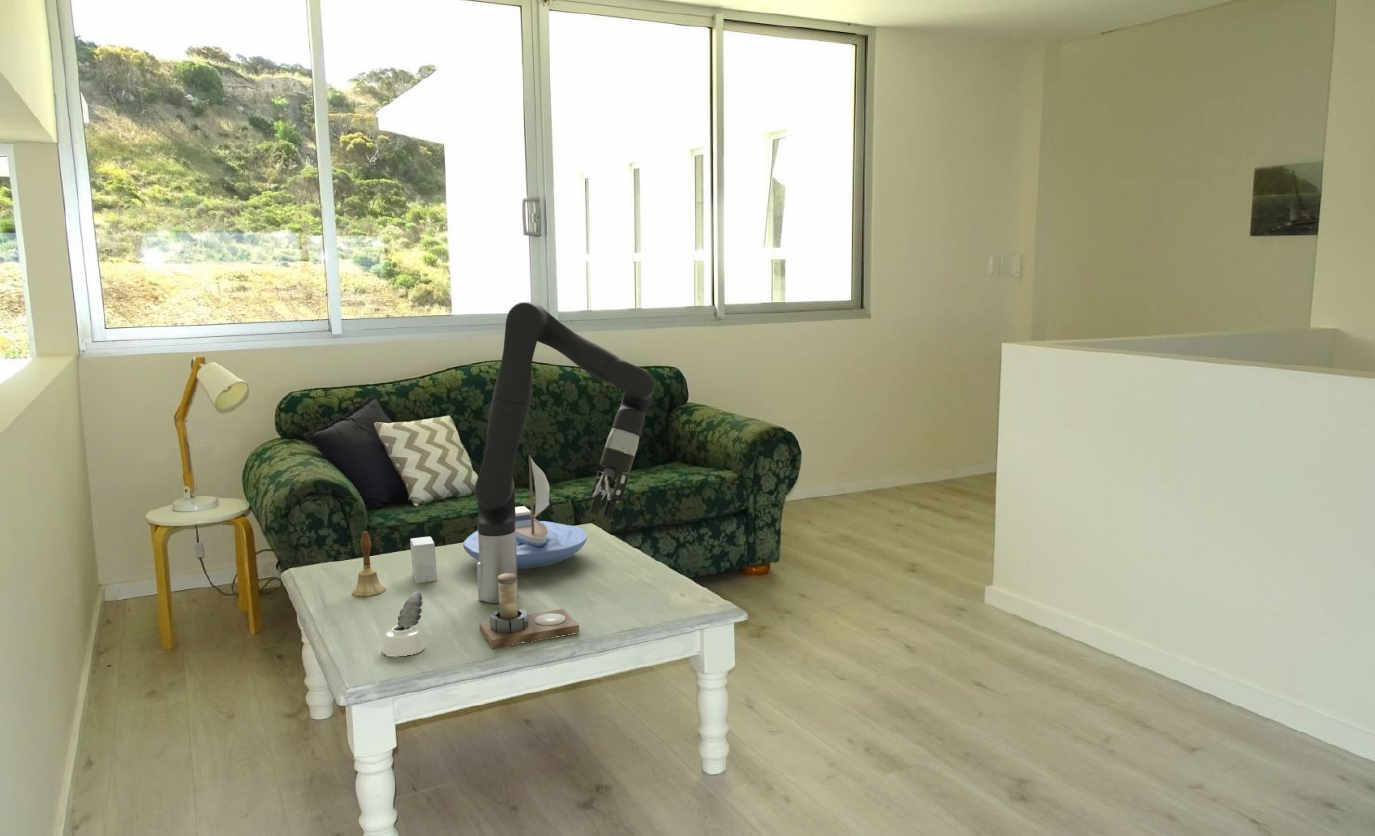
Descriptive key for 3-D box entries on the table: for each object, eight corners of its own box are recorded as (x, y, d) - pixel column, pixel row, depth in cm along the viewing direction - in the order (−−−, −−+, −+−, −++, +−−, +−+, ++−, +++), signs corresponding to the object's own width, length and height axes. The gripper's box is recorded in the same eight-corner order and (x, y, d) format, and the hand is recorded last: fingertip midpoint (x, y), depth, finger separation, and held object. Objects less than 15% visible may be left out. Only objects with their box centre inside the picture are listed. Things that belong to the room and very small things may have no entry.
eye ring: (486, 632, 219) (485, 619, 219) (498, 620, 227) (498, 607, 226) (520, 634, 218) (520, 621, 217) (532, 621, 226) (531, 609, 225)
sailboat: (480, 589, 255) (474, 467, 250) (452, 555, 287) (446, 446, 282) (605, 570, 270) (601, 455, 265) (565, 539, 301) (562, 435, 296)
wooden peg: (497, 629, 221) (495, 578, 219) (503, 623, 225) (501, 572, 223) (515, 630, 220) (512, 579, 218) (521, 624, 224) (518, 573, 222)
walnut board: (492, 648, 215) (491, 640, 215) (479, 630, 226) (479, 622, 226) (579, 633, 223) (579, 624, 223) (563, 616, 234) (562, 608, 234)
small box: (437, 581, 263) (435, 543, 261) (415, 584, 261) (413, 545, 259) (433, 572, 270) (431, 535, 268) (412, 575, 268) (410, 538, 266)
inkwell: (375, 658, 211) (372, 613, 210) (400, 627, 229) (398, 586, 227) (418, 657, 211) (415, 613, 209) (440, 627, 229) (437, 586, 227)
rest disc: (530, 624, 223) (530, 623, 223) (540, 614, 230) (540, 613, 230) (560, 626, 222) (560, 625, 222) (568, 615, 229) (568, 614, 229)
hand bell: (349, 589, 257) (345, 530, 255) (382, 584, 261) (378, 526, 258) (354, 598, 250) (350, 538, 247) (388, 593, 253) (384, 533, 251)
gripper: (595, 445, 241) (575, 508, 239) (618, 447, 228) (597, 514, 226) (622, 454, 244) (602, 516, 242) (645, 456, 232) (625, 522, 229)
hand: (599, 515), depth 234 cm, fingers open, 8 cm apart
